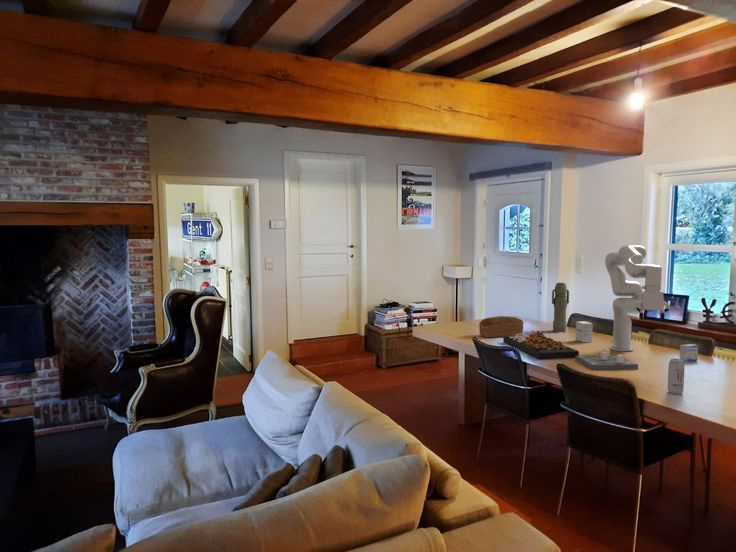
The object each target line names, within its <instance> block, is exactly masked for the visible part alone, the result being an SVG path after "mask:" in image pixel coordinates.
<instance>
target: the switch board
mask: <svg viewBox="0 0 736 552" xmlns="http://www.w3.org/2000/svg"><path fill="white" fill-rule="evenodd" d="M617 355H618V354H610V356H609V357H608V360H601V354H596V355H595V354H594V355H589V354H588V355H585V354H584V355H579V356H576V358H575V361H576V362H578V363H579V364H582V365H584V366H585V367H587V368H588V369H591V370H595V371H597V370H599V371H601V370H638V369H639V363H636V362H634V361H632V360H629V359H627V358H625V357H624V363H617Z"/></svg>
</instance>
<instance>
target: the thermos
mask: <svg viewBox="0 0 736 552" xmlns="http://www.w3.org/2000/svg"><path fill="white" fill-rule="evenodd" d="M569 303H570V291H569V289H567V284H566V283H565V282H557V283H555V287H554V289H552V291H551V304H552V305H553V310H554V311H553V321H552V332H553V331H558V332H564V333H566V332H567V321H566V320H567V318H566V317H567V316H566V315H567V314H566V313H567V306H568V305H569ZM565 331H566V332H565ZM558 332H557V333H558Z"/></svg>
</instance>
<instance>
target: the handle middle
mask: <svg viewBox="0 0 736 552" xmlns="http://www.w3.org/2000/svg"><path fill="white" fill-rule="evenodd" d="M600 355H601V360H608V352H603V351H600Z"/></svg>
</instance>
